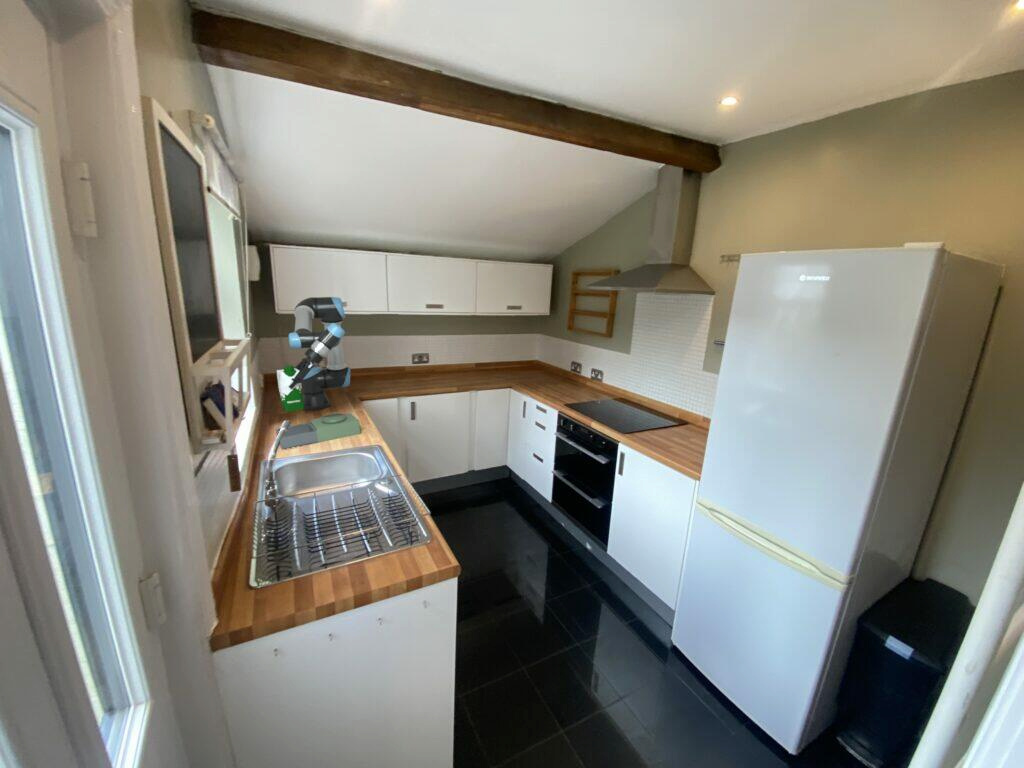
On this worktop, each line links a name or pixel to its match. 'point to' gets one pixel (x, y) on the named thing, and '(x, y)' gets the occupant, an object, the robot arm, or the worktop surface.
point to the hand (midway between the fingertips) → (282, 391)
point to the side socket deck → (320, 430)
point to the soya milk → (295, 396)
